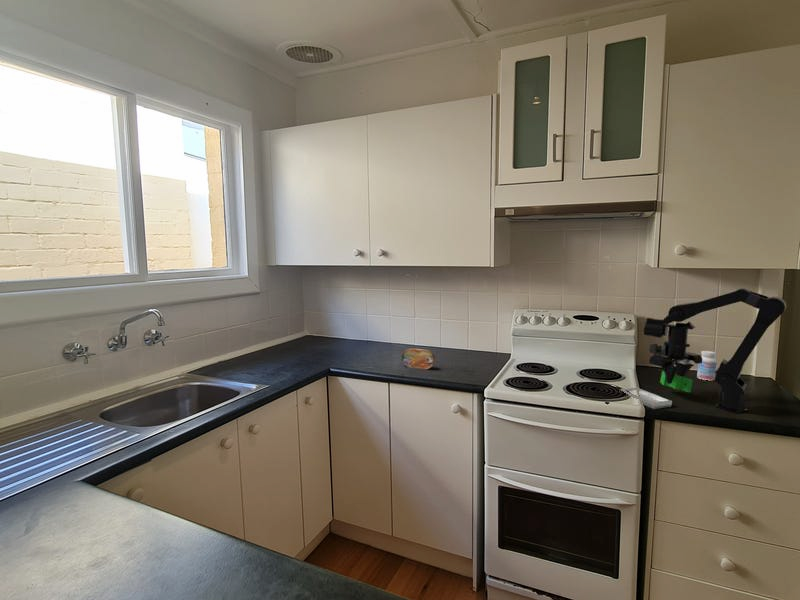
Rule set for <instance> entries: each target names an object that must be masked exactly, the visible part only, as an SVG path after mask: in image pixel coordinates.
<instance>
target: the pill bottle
mask: <svg viewBox="0 0 800 600" xmlns="http://www.w3.org/2000/svg"><path fill="white" fill-rule="evenodd" d="M700 355H701V357H702V363H699V364H698V365H697V373H696V378H697V379H699V380H701V379H702V381H706V380H708V381H707V382H709V381H710V382H711V381H712V382H714V381H716V379H715V376H716V374H717V373H715V371H716V370H717V361H718V360H717V358H716V352H714V351H711V350H702V351H701V352H700ZM713 380H714V381H713Z"/></svg>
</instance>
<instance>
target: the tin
mask: <svg viewBox="0 0 800 600" xmlns="http://www.w3.org/2000/svg"><path fill="white" fill-rule="evenodd" d="M401 361H402V364H404V366H406V367H407V368H411V369H418V370H419V369H420V370H429V369H430V368H432V367H433V366H434V365H435V363H436V362H435V361H436V357H435V354H434V353H433V352H432V351H431V350H429V349H420V348H414V347H413V348H412V347H410V348H407V349H404V351H402V354H401Z"/></svg>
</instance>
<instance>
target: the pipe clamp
mask: <svg viewBox="0 0 800 600" xmlns="http://www.w3.org/2000/svg"><path fill="white" fill-rule="evenodd" d="M659 380H660V381H659V383H660V384H661V385H663V386H665V387H669V388H672V389H674V390H681V391H684V392H685V393H686V392H687V393H691V391H692V387H693V381H694V380H693V379H691V378H688V377H685V376H684V377H682V376H679V375H676V374H675V375H674V378H673V381H672V383H671V384H669V383H668V382H667V379H666V376H665V373H664V370H662V371H661V376H660V379H659Z"/></svg>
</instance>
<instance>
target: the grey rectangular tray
mask: <svg viewBox="0 0 800 600" xmlns="http://www.w3.org/2000/svg"><path fill="white" fill-rule="evenodd" d="M620 390H621V391H623V392H624V393H626V394H628V395H629V396H631V397H633V398H636V399H639V400H640V401H641V402H642V403H643V404H644V405H643V404H642V405H643V406H646V407H648V408H651V409H653V410H657V409H663V408H670V407H672V404H673V401H672V400H671V399H668V398H666V397H662V396H660V395H658V394H655V393H652V392H650V391H647V390H645V389H641V388H639V387H627V388H620V389H619V391H620ZM633 390H638V391H639V395H640V397H639V396H637V395H634V394H632V393H629V392H627V391H633Z"/></svg>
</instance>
